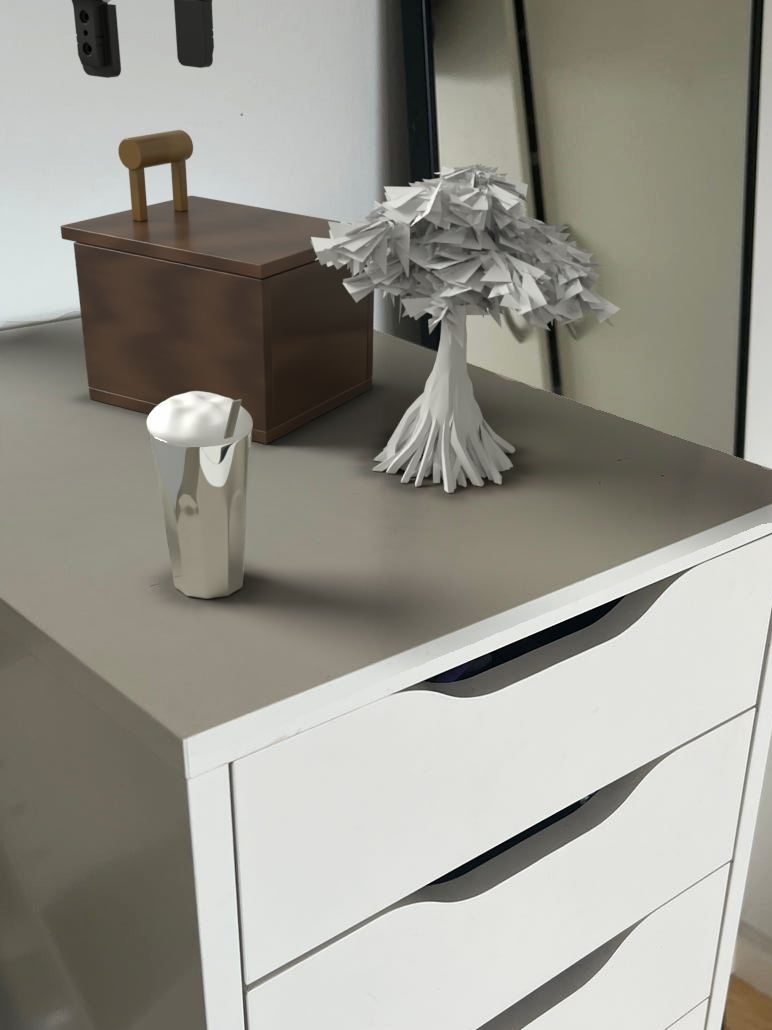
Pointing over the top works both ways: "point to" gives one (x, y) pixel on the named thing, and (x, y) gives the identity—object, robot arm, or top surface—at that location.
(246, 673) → the top surface
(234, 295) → the chest
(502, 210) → the tree
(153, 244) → the lid
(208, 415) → the milkshake
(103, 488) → the top surface
